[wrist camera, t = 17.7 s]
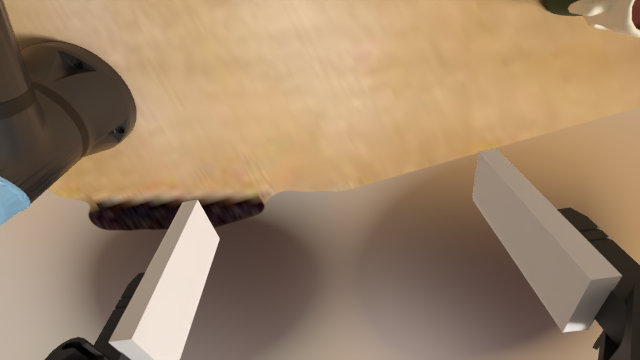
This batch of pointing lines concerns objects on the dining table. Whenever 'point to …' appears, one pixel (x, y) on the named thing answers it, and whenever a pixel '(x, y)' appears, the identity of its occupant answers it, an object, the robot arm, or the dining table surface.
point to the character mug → (602, 13)
